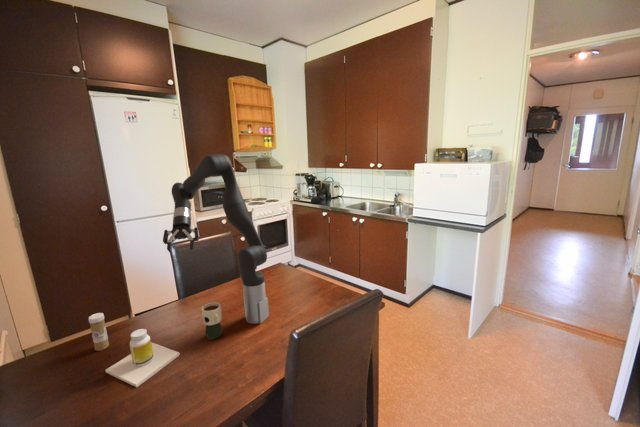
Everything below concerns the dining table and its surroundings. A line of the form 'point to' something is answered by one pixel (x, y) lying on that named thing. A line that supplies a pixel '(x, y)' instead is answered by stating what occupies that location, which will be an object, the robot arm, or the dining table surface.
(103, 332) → the sprinkles bottle
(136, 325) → the dining table surface
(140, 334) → the pill bottle
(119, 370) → the ceramic tile
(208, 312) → the character mug
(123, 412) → the dining table surface
